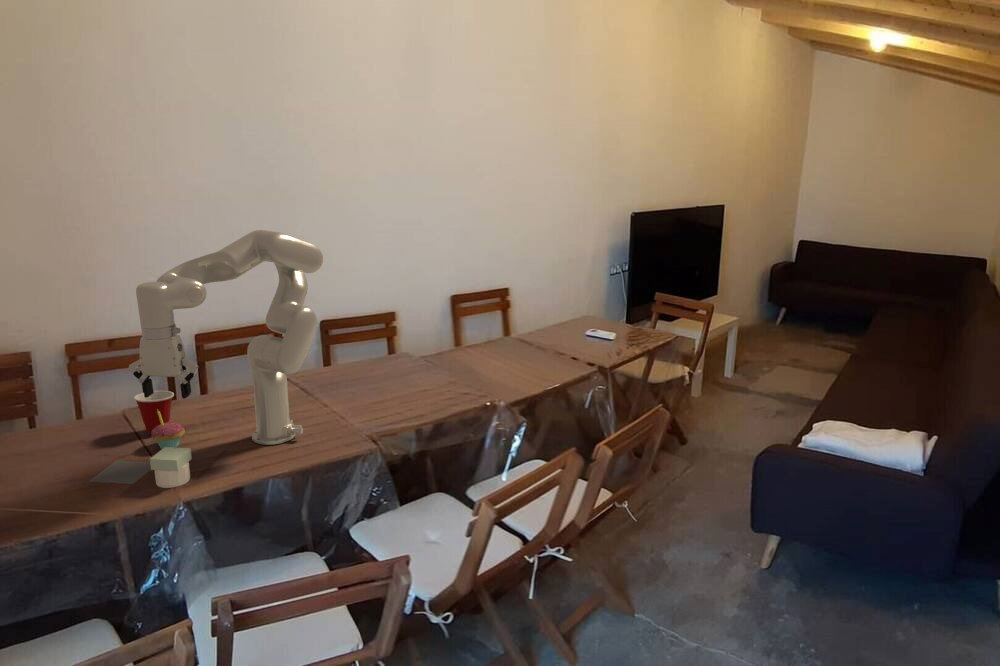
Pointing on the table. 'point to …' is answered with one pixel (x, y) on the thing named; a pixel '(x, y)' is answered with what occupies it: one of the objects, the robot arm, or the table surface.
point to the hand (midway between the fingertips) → (167, 396)
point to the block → (170, 459)
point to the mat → (123, 472)
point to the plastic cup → (154, 408)
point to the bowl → (172, 477)
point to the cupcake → (167, 433)
